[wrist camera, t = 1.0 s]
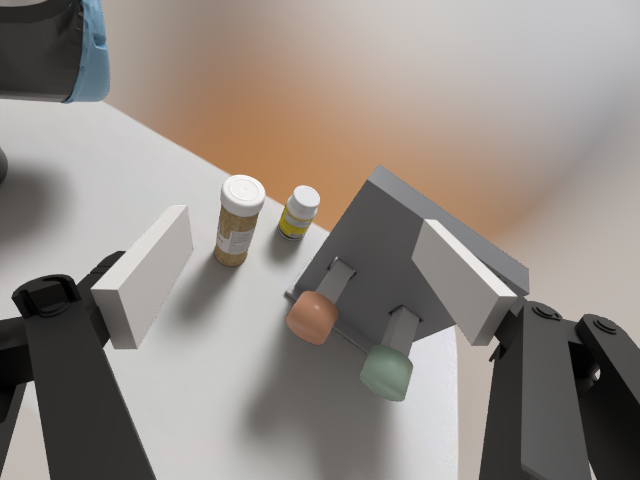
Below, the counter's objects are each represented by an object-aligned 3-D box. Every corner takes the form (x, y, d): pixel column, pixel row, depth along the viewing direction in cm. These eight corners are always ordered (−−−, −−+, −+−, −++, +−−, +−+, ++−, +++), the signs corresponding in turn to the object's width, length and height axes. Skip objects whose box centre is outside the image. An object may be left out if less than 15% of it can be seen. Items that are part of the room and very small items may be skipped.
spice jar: (212, 241, 39) (218, 172, 29) (244, 239, 41) (261, 173, 31) (216, 269, 37) (225, 206, 26) (250, 265, 39) (270, 205, 29)
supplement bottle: (289, 213, 47) (304, 178, 40) (310, 230, 46) (329, 198, 40) (271, 227, 44) (284, 192, 37) (293, 246, 43) (310, 214, 37)
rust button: (280, 323, 28) (292, 308, 24) (330, 251, 35) (345, 232, 32) (315, 349, 28) (331, 337, 24) (358, 271, 35) (375, 254, 32)
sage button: (352, 376, 27) (374, 368, 24) (387, 293, 35) (408, 278, 32) (387, 403, 27) (414, 399, 24) (415, 313, 35) (439, 300, 31)
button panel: (284, 293, 38) (355, 184, 22) (309, 260, 43) (383, 149, 26) (383, 365, 38) (535, 312, 21) (397, 325, 42) (532, 254, 25)
